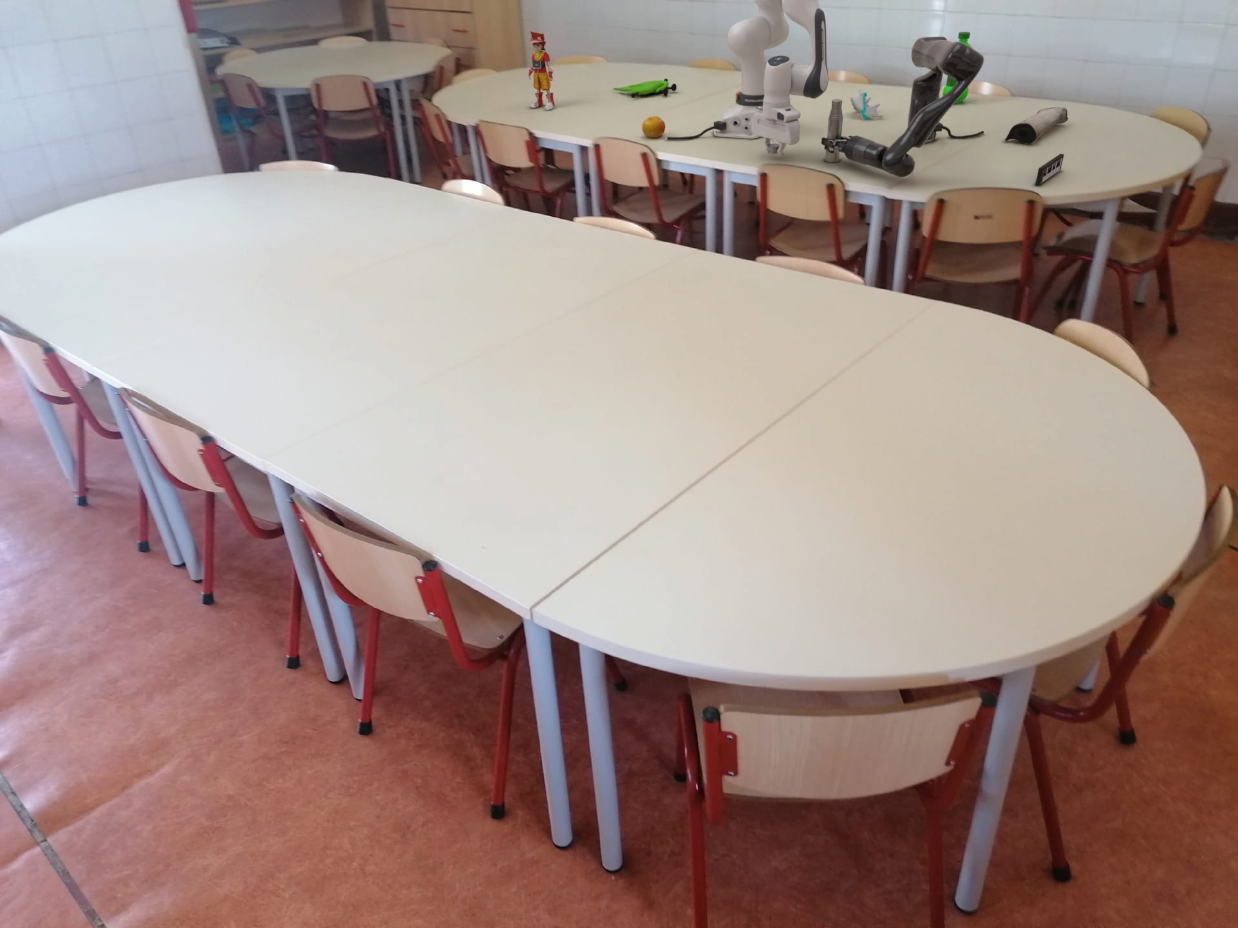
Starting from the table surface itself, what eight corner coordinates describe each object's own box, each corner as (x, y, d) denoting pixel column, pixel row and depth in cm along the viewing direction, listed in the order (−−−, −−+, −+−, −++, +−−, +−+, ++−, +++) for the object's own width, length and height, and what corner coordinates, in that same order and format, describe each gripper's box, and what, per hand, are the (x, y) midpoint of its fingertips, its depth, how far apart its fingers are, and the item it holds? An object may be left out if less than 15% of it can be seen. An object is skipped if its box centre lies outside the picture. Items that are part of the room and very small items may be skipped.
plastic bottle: (973, 101, 354) (984, 32, 339) (955, 106, 349) (966, 36, 335) (952, 97, 361) (962, 29, 346) (934, 102, 356) (944, 33, 342)
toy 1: (525, 109, 381) (517, 32, 364) (534, 104, 388) (527, 28, 371) (550, 110, 377) (543, 32, 360) (559, 105, 384) (553, 28, 367)
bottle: (831, 157, 304) (836, 98, 293) (842, 160, 300) (847, 100, 290) (822, 160, 301) (826, 100, 291) (832, 163, 298) (837, 103, 287)
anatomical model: (845, 88, 346) (871, 81, 345) (848, 116, 352) (873, 109, 351) (857, 98, 334) (883, 90, 333) (859, 126, 340) (885, 119, 339)
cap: (771, 155, 302) (771, 147, 300) (765, 151, 305) (765, 144, 304) (782, 153, 303) (783, 146, 301) (777, 149, 306) (777, 142, 305)
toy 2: (686, 85, 398) (631, 84, 414) (685, 72, 395) (629, 72, 411) (651, 104, 381) (596, 103, 397) (650, 92, 378) (594, 91, 394)
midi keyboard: (1039, 185, 269) (1043, 168, 266) (1035, 184, 270) (1038, 168, 267) (1060, 170, 279) (1064, 154, 277) (1056, 169, 280) (1060, 153, 277)
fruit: (635, 129, 332) (646, 109, 329) (642, 132, 340) (653, 113, 337) (653, 141, 331) (664, 122, 328) (660, 144, 339) (671, 125, 336)
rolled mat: (1035, 112, 325) (1059, 94, 316) (1049, 133, 325) (1073, 116, 317) (1000, 135, 307) (1025, 117, 299) (1015, 157, 308) (1040, 140, 300)
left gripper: (748, 106, 302) (747, 148, 310) (789, 117, 288) (787, 161, 296) (762, 103, 305) (761, 144, 313) (804, 114, 291) (801, 157, 298)
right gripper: (881, 135, 287) (846, 124, 300) (846, 142, 282) (812, 131, 295) (878, 158, 291) (844, 147, 304) (843, 166, 286) (810, 154, 299)
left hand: (774, 153), depth 304 cm, fingers closed on cap, 4 cm apart
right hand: (828, 139), depth 299 cm, fingers closed on bottle, 4 cm apart
